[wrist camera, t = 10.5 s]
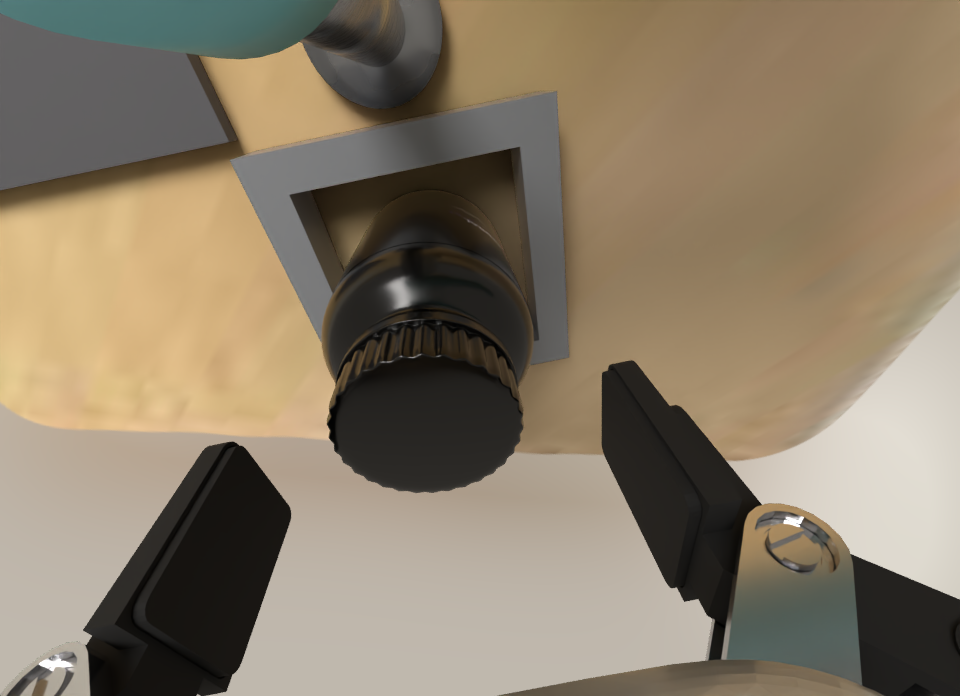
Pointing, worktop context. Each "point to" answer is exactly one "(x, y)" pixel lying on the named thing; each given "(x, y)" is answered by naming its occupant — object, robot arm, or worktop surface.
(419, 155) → the bottle holder
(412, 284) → the supplement bottle
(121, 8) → the latch bar
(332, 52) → the latch post
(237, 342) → the worktop surface
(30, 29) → the rubber mat
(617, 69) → the worktop surface
